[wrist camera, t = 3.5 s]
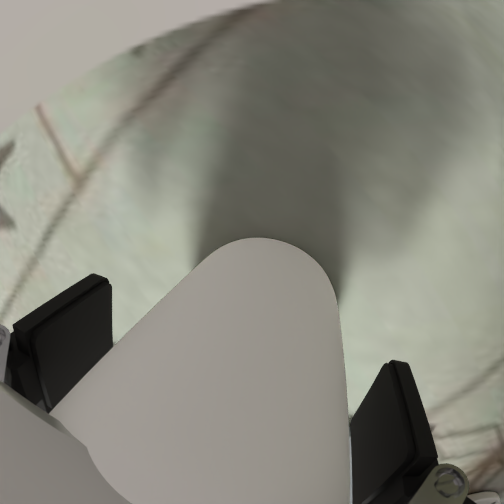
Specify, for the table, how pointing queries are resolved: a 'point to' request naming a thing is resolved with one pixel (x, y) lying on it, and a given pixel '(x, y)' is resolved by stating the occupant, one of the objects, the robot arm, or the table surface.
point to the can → (225, 388)
